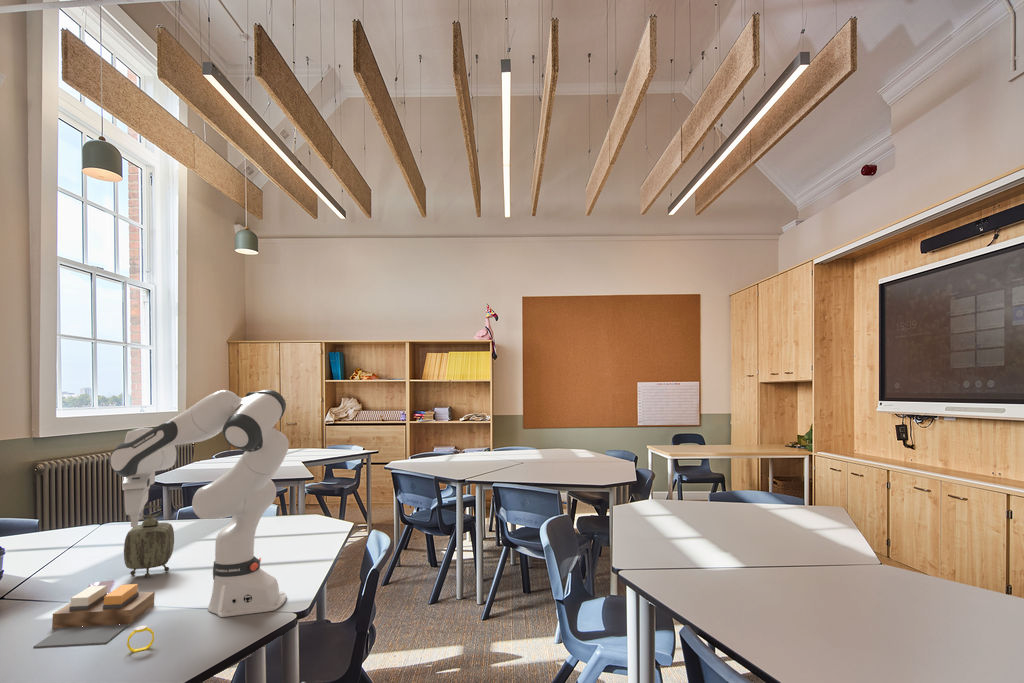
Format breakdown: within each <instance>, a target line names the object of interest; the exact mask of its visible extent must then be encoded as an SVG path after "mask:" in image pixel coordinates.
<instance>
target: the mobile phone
mask: <svg viewBox="0 0 1024 683" xmlns="http://www.w3.org/2000/svg"><path fill="white" fill-rule="evenodd" d="M115 583H116V580H112V579H110V580H104V581H97V582H91V583H89V584H88V586H87V588H88V587H90V586H105V585H107V592H106V593H107V594H109V593H110V592H112V591H113V587H114V586H115ZM87 588H86V589H87Z"/></svg>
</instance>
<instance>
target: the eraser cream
mask: <svg viewBox="0 0 1024 683" xmlns="http://www.w3.org/2000/svg"><path fill="white" fill-rule="evenodd" d="M87 587H88V586H87ZM106 592H107V585H105V586H90V587H88V588H85V589H84V590H82V591H80V592H78V593H77V594H75V595H74V596H72V597H70V603H71V606H70V607H69V611H81V610H89V609H90V608H92V607H93V606H95V605H96V604H98V603H99V602H101V601H102V600H104V596H106V595H107V593H106Z"/></svg>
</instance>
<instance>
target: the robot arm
mask: <svg viewBox="0 0 1024 683" xmlns="http://www.w3.org/2000/svg"><path fill="white" fill-rule="evenodd" d="M286 407H287V404H286V400H285V398H284V396H283V395H281V393H279V392H277V391H276V390H272V389H262V390H259V391H249V392H247V393H246V395H245V396H244V397H240V396H239V395H238V394H236V393H235V392H233V391H230V390H227V389H221V390H217V391H215V392H212V393H211V394H208V395H207V396H205V397H203V398H202V399H200V400H199V401H197V402H196V403H194V404H193V405H192V406H190V407H189V408H188V409H186V410H184V411H182V412H181V413H179V414H178V415H176V416H174V417H172V418H171V419H169V420H167V421H165V422H163V423H162V424H159V425H158V426H156V427H154V428H153V427H141V428H133V429H130V430H128V431H127V432H126V434H125V439H124V442H121V443H119V444H118V445H117V446H116V447H115V449H114V448H113V451H112V453H111V454H110V457H109V464H110V465H109V466H110V467H111V470H113V472H115V473H116V474H117V475H119V476H120V477H121V489H122V491H124V509H125V510H124V511H125V514H126V516H129V519H130V527H131V528H133V527H137V526H138V525H139V521H141V520H142V519H143V518H144V517H143V515H144V510H145V509H144V507H145V506H146V504H147V503H148V501H149V490H150V488H151V486H152V485H154V484H155V483H156V472H160V471H165V470H168V469H171V468H173V467H174V466H175V465H176V463H177V461H178V459H179V455H180V454H179V448H178V447H179V445H186V444H192V443H201V442H204V441H206V440H210V439H211V438H213V437H215V436H217V435H218V434H220V433H222V435H223V437H224V440H225V441H226V442H227V443H228V444H229V445H230V446H232V447H234V448H235V449H238V450H241V451H244V452H243V454H242V455H241V457H240V458H239V459H238V460H237V462H236V463H235V465H233V466H232V468H230V469H229V470H228V471H227V472H225V473H223V474H222V475H221V476H219V477H218V478H217V479H215V480H213V481H212V482H210V483H209V484H206V485H203V486H202V487H199V488H198V489H197V490H196V492H194V495H193V497H192V500H191V501H192V502H191V507H192V510H193V513H194V514H195V515H196V517H197V518H199V519H201V520H219V519H224V518H228V517H231V520H230V521H229V523H228V524H227V525H226V526H225V527H224V528H222V529H221V530H220V531H219V532H218V533H217V535H216V537H215V548H214V550H215V551H214V553H215V554H214V557H215V558H214V561H213V565H212V578H213V585H212V592H211V596H210V601H209V604H208V607H207V610H208V611H209V612H210V613H212V614H216V615H217V616H218V617H219V618H224V617H225V618H226V617H227V618H228V617H233V616H241V615H250V614H258V613H267V612H272V611H273V612H274V611H275V610H277V609H279V608H280V607H282V605H283V604H284V603H285V602H286V600H287V594H286V592H285V591H280V588H279V583H278V579H277V578H276V577H274V576H272V575H271V574H269V573H268V572H266V571H265V570H264V569H262V568H261V562H262V557H259V558H257V557H256V556H255V554H254V553H255V552H254V550H255V540H256V538H255V537H256V532H257V527H258V526H259V522H260V520H261V518H262V516H263V515H264V514H265V512H266V511H267V510H268V508H270V506H271V505H273V503H274V501H275V500H276V497H277V487H276V484H275V482H274V481H273V480H272V478H273V477H274V476H275V474H276V473H277V471H278V470H279V469H280V467H281V465H282V463H283V462H284V459H285V458H286V455H287V453H288V451H289V446H290V442H289V439H288V437H287V436H286V434H284V433H283V432H282V431H280V430H277V429H276V427H275V426H276V425H277V423H278V422H279V420H281V419H282V417H283V416H284V414H285V411H286V409H287V408H286Z"/></svg>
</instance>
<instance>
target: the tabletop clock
mask: <svg viewBox="0 0 1024 683" xmlns="http://www.w3.org/2000/svg"><path fill="white" fill-rule="evenodd" d="M148 508H156V509H158V510H159V512H158V513H156V514H152V512H151V513H148V515H145V514H143V517H142V518H146V519H144V520H143V521H142V523H141V524H138V526H137V527H131V529H130V530H128V532H127V534H126V536H125V539H124V546H123V558H124V559H123V561H124V565H125V567H126V569H130V570H131V571H130V573H129V574H130V575H131V576H134V575H135V574H136V570H143V569H144V570H146V573H144V578H146V579H148V578H150V576H151V574H150V573H149V571H150V569H153V568H158V567H163V570H164V572H168V571H169V570H170V567H169V566H166V565H167V563H168V561H170V559H171V557H172V555H173V552H174V548H175V547H174V546H175V531H174V527H173V525H172V523H169V522H159V521H158V519H157V518H155V517H158V516H160V514H161V513H162V508H161V507H160V506H158V505H145V506H144V509H143V510H145V509H148Z"/></svg>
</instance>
